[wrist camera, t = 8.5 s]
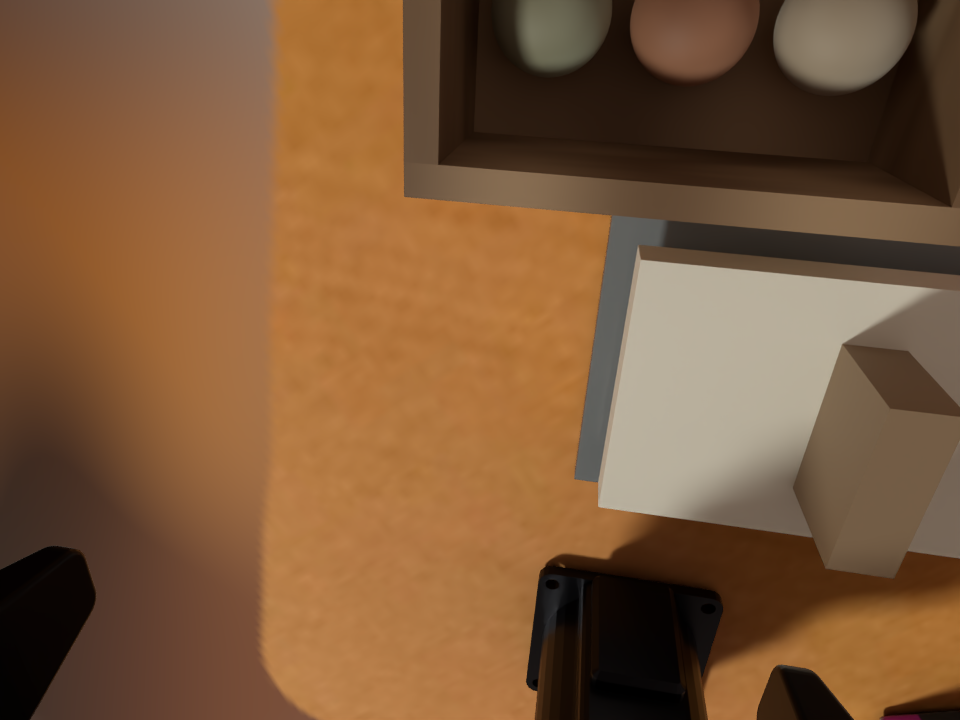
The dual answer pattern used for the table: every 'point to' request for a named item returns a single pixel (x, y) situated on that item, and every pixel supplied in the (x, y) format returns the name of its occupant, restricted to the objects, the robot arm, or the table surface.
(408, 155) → the box
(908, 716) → the candy bar box
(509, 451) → the table surface
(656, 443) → the lid
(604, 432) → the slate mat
